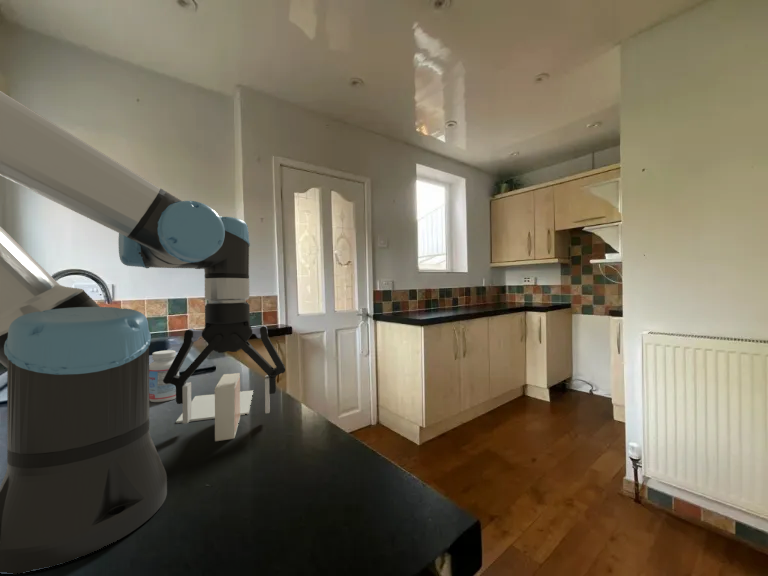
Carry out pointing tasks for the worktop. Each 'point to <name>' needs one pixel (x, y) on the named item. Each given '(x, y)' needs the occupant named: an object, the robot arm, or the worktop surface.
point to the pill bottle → (161, 377)
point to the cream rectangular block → (227, 406)
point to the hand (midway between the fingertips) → (228, 415)
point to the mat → (206, 406)
